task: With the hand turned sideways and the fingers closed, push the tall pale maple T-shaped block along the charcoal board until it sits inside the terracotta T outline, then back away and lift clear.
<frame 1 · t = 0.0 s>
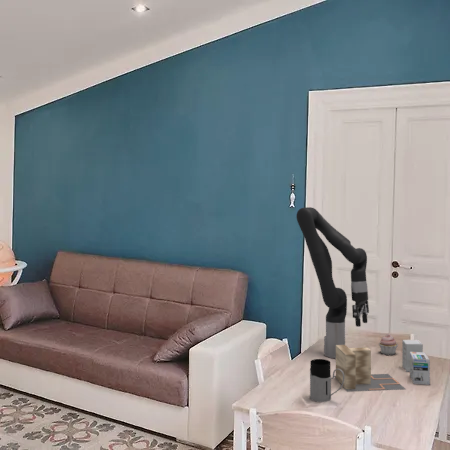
hand: (361, 324, 251), 17 cm above the table, tool pointing down, fingers open, 8 cm apart
charcoal board: (368, 384, 219), on the table
maple T block: (350, 382, 219), point 1 cm above the table, touching charcoal board
light bulb box: (419, 380, 224), on the table
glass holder: (327, 402, 201), on the table
supplement box: (412, 369, 238), on the table
cupcake: (388, 354, 263), on the table
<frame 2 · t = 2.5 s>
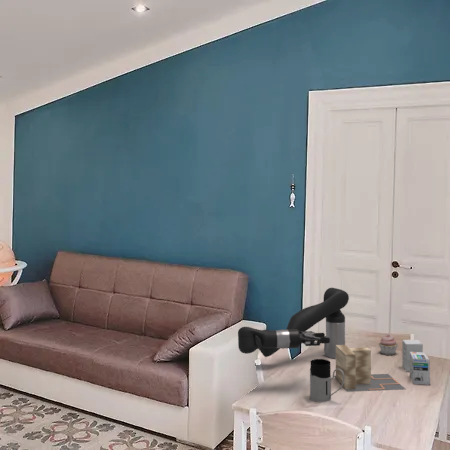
hand: (326, 337, 217), 20 cm above the table, tool horizontal, fingers open, 7 cm apart
nothing on the table moved.
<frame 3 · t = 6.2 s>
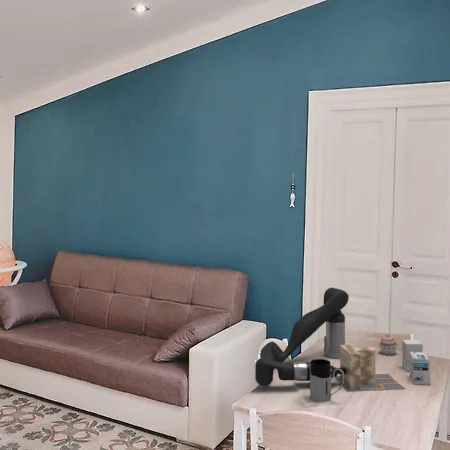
hand: (345, 371, 217), 6 cm above the table, tool horizontal, fingers closed
maple T block: (355, 382, 219), point 1 cm above the table, touching gripper
everything else where it was.
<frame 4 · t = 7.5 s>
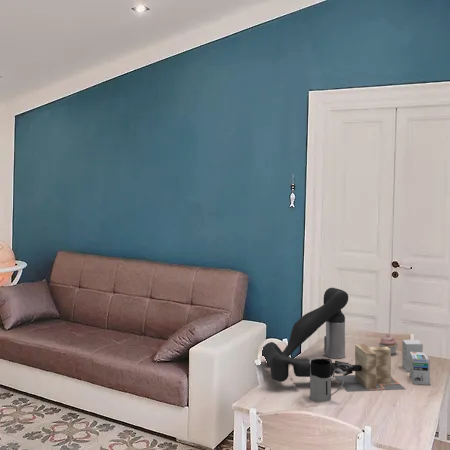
hand: (361, 368, 218), 7 cm above the table, tool horizontal, fingers closed
maple T block: (370, 382, 219), point 1 cm above the table, touching gripper
everything else where it was.
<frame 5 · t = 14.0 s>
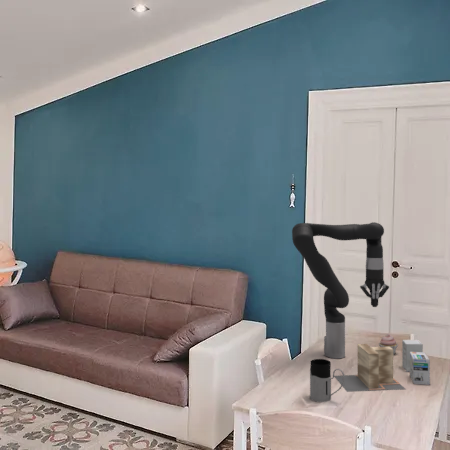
hand: (374, 306, 235), 29 cm above the table, tool pointing down, fingers closed
maple T block: (372, 382, 220), point 1 cm above the table, touching charcoal board
everything else where it was.
at the end: maple T block 0.5 cm from the target spot, point 1.0 cm above the table; maple T block tilted 0° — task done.
